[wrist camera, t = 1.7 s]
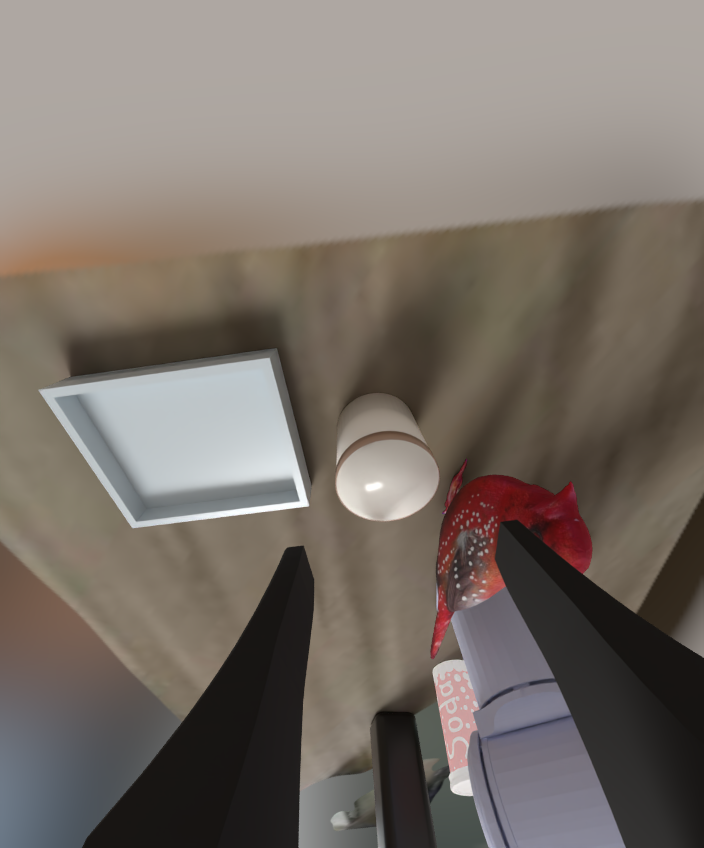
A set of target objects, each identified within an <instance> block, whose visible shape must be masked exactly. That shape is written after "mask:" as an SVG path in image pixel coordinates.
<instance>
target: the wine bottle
mask: <svg viewBox="0 0 704 848" xmlns="http://www.w3.org/2000/svg"><path fill="white" fill-rule="evenodd" d="M370 734H371V749H372V764H373V779H374V794H375V809H376V825H377V840H378V848H437V845H436V838H435V832H434V826H433V820H432V814H431V808H430V802H429V796H428V790H427V784H426V778H425V772H424V766H423V760H422V755H421V749H420V743H419V737H418V731H417V725H416V719H415V716H414V715H412V714H411V713H379V714H378V715H377V716H376V717H375V719H374V721H373V723H372V725H371V727H370Z"/></svg>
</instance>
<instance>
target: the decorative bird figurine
mask: <svg viewBox="0 0 704 848" xmlns="http://www.w3.org/2000/svg"><path fill="white" fill-rule="evenodd" d="M466 465H467V459H466V460H465V462H464V464H463V466H462V468H461V470H460V472H459V473H458V474H457V475H456V476H454V478H453V480H452V483H451V485H450V490H449V492H448V494H447V500H446V502H445V506H446V510H445V511H444V512H442V514H445V513H446V514H445V516H444V519H443V522H442V526H441V531H440V538H439V548H438V556H437V563H436V580H437V589H438V610H437V616H436V621H435V627H434V633H433V638H432V645H431V651H430V652H431V659H434V657H435V656H436V654H437V652H438V650H439V647H440V645H441V642H442V640H443V638H444V635H445V632H446V630H447V628H448V625H449V623H450V620H451V618H452V616H453V614H454V612H455V611H460V610H464V609H467V608H470V607H473V606H476V605H478V604H480V603H481V602H483V601H485V600H487V599H489V598H490V597H492V596H493V595H494V594H496V593H497V592H499V591H500V590H501V589H503V588H504V587H506V586H505V583H504V581H503V578H502V576H501V574H500V571H499V569H498V566H497V564H496V561H495V553H496V546H497V540H498V533H499V526H500V522H502V521H510V520H518V521H520V522H521V523H522V524H523V525H524V526H526V527H527V528H528V529H529V530H530V531H531V532H532V533H534V534H535V535H536V536H537V537H538V538H539V539H541V540H542V541H543V542H544V543H545V544H547V545H548V546H549V547H550V548H551V549H552V550H554V551H555V552H556V553H557V554H558V555H560V556H561V557H562V558H563V559H564V560H566V561H567V562H568V563H569V564H571V565H572V566H573V567H574V568H576V569H577V570H578V571H579V572H581V573H582V574H583V573H584V572H585V571H586V570H587V569H588V567H589V565H590V562H591V558H592V542H591V537H590V534H589V531H588V529H587V527H586V525H585V523H584V521H583V519H582V518H581V516H580V515H579V511H578V505H577V497H576V493H575V491H574V486H573V484H572V482H571V481H570V483H569V484H568V485H567V486H566V487H565V488H564V489H563V490H562V491H561V492H559V493H558V494H556V495H554V494H553V493H551V492H549V491H547V490H546V489H544V488H541V487H540V486H538V485H534V484H533V485H529V484H527V483H525V482H523V481H520V480H518V479H516V478H513V477H510V476H504V475H487V476H482V477H478V478H476V479H474V480H472V481H471V482H469V483H468V484H466V485H465V486H464V487H463V488H461V489H460V490H459V488H460V486H461V484H462V480H463V479H462V473H463V471H464V469H465V467H466ZM458 491H459V492H458Z"/></svg>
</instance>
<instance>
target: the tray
mask: <svg viewBox="0 0 704 848" xmlns="http://www.w3.org/2000/svg"><path fill="white" fill-rule="evenodd" d="M39 392H40V393H41V395H42V396H43V398H44V399H45V400H46V402H47V403H48V405H49V406H50V408H51V409H52V411H53V412H54V414H55V415H56V417H57V418H58V420H59V421H60V422H61V424H62V425H63V427H64V428H65V430H66V431H67V433H68V434H69V436H70V437H71V439H72V440H73V442H74V443H75V444H76V446H77V447H78V449H79V450H80V452H81V453H82V455H83V456H84V458H85V459H86V461H87V462H88V464H89V465H90V466H91V468H92V469H93V471H94V472H95V474H96V475H97V477H98V478H99V480H100V481H101V483H102V484H103V486H104V487H105V489H106V490H107V491H108V493H109V494H110V496H111V497H112V499H113V500H114V502H115V503H116V505H117V506H118V508H119V509H120V511H121V512H122V513H123V515H124V516H125V518H126V519H127V521H128V522H129V524H130V525H131V527H132V528H137V527H145V526H154V525H162V524H170V523H178V522H186V521H194V520H202V519H210V518H218V517H226V516H234V515H242V514H250V513H258V512H266V511H274V510H282V509H290V508H298V507H306V506H309V503H310V495H311V487H312V486H311V482H310V478H309V474H308V470H307V466H306V462H305V458H304V454H303V450H302V446H301V442H300V438H299V434H298V430H297V426H296V422H295V418H294V414H293V410H292V406H291V402H290V398H289V394H288V390H287V386H286V382H285V378H284V374H283V370H282V366H281V362H280V358H279V354H278V350H277V348H273V349H266V350H258V351H251V352H244V353H237V354H230V355H223V356H216V357H209V358H202V359H194V360H187V361H180V362H173V363H166V364H159V365H152V366H145V367H138V368H131V369H123V370H116V371H109V372H102V373H95V374H88V375H81V376H74V377H69V378H66V379H64V380H62V381H59V382H57V383H54V384H52V385H49V386H47V387H45V388H42V389H40V390H39Z"/></svg>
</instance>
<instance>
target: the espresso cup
mask: <svg viewBox="0 0 704 848" xmlns="http://www.w3.org/2000/svg"><path fill="white" fill-rule="evenodd" d="M439 482H440V471H439V467H438V464H437V462H436V460H435V458H434V456H433V454H432V452H431V450H430V449H429V447H428V446H427V444H426V442H425V440H424V438H423V436H422V434H421V431H420V429H419V427H418V425H417V423H416V421H415V419H414V417H413V415H412V413H411V411H410V409H409V408H408V406H407V405H406V404H405V403H404V402H403V401H401V400H400V399H398V398H397V397H395V396H392V395H389V394H385V393H371V394H366V395H363V396H360V397H358V398H356V399H355V400H353V401H352V402H350V403H349V404H348V405H347V406H346V407H345V408H344V410H343V411H342V413H341V415H340V417H339V420H338V424H337V467H336V477H335V486H336V492H337V495H338V497H339V499H340V501H341V502H342V504H343V505H344V506H345V507H346V508H347V509H348V510H349V511H350V512H352V513H353V514H355V515H357V516H359V517H361V518H364V519H368V520H372V521H394V520H399V519H402V518H405V517H408V516H410V515H412V514H415V513H416V512H418V511H419V510H421V509H422V508H423V507H425V506H426V505H427V504H428V503H429V502H430V501H431V499H432V498H433V497H434V495H435V493H436V491H437V489H438V486H439Z"/></svg>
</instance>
